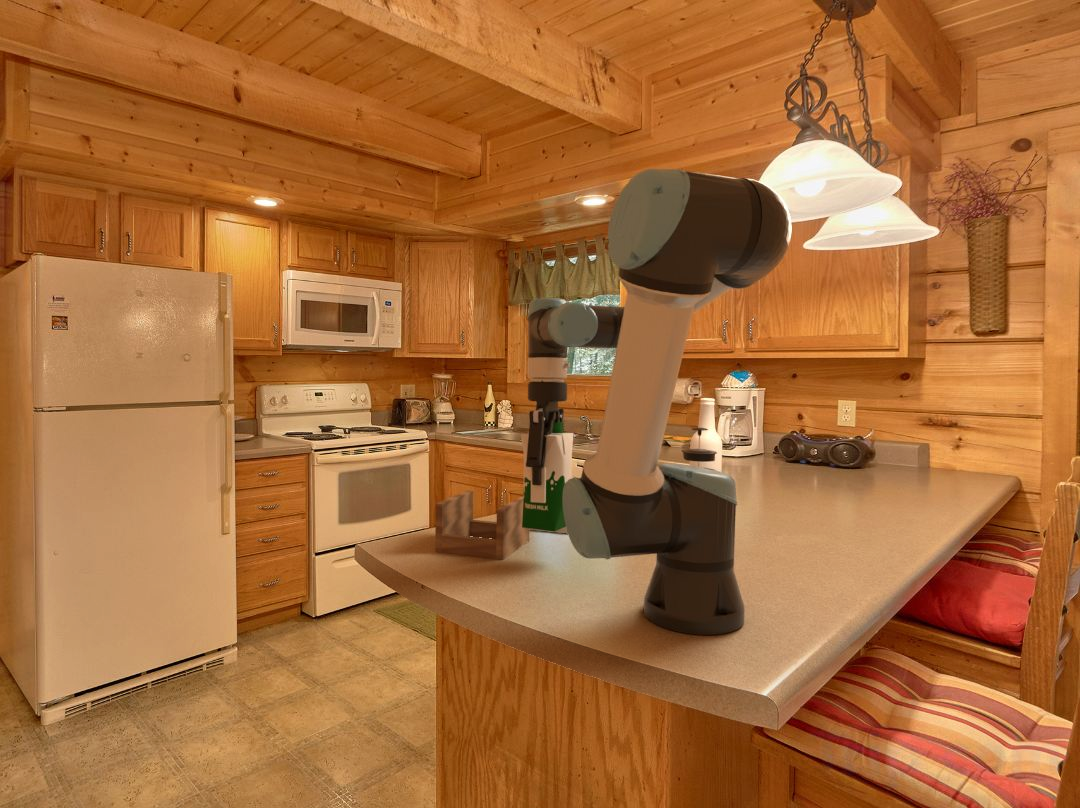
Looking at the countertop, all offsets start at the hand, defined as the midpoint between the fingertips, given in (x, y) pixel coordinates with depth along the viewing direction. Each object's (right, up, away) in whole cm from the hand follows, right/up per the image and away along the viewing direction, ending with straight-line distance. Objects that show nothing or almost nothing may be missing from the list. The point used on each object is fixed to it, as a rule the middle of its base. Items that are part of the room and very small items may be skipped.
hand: (546, 497), depth 127 cm
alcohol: (+45, -11, +59) cm, 75 cm away
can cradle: (+2, -11, +33) cm, 35 cm away
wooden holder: (-13, -12, +13) cm, 22 cm away
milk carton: (0, -6, 0) cm, 6 cm away
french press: (+40, -11, +45) cm, 62 cm away
